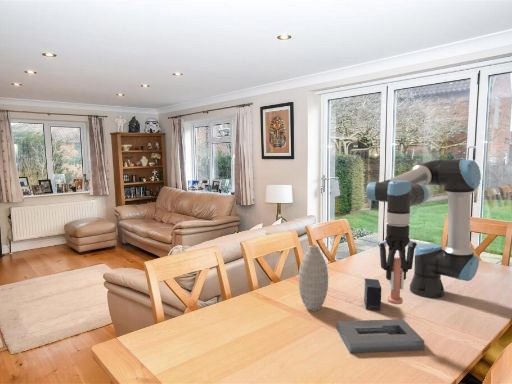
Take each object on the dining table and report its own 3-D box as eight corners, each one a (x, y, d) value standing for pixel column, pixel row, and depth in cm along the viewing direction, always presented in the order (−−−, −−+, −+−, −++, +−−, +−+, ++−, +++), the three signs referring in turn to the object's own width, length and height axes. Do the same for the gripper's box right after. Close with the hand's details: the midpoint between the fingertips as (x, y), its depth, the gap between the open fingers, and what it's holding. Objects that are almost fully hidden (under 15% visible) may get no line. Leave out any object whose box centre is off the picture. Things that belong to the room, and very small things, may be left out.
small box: (381, 310, 153) (382, 287, 152) (365, 309, 154) (366, 286, 153) (378, 300, 163) (378, 278, 162) (363, 299, 164) (364, 278, 163)
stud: (398, 298, 131) (400, 256, 129) (405, 304, 126) (406, 260, 124) (385, 298, 130) (386, 256, 129) (391, 304, 125) (392, 260, 124)
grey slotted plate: (402, 327, 138) (402, 319, 138) (423, 350, 122) (424, 340, 122) (336, 329, 137) (336, 321, 136) (349, 353, 121) (349, 343, 120)
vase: (330, 304, 159) (331, 243, 156) (323, 316, 148) (324, 250, 145) (303, 300, 165) (303, 240, 162) (294, 311, 153) (294, 247, 150)
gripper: (414, 221, 129) (412, 283, 132) (371, 222, 128) (369, 285, 131) (425, 225, 122) (422, 291, 124) (379, 226, 121) (377, 292, 123)
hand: (395, 288), depth 127 cm, fingers closed on stud, 3 cm apart
